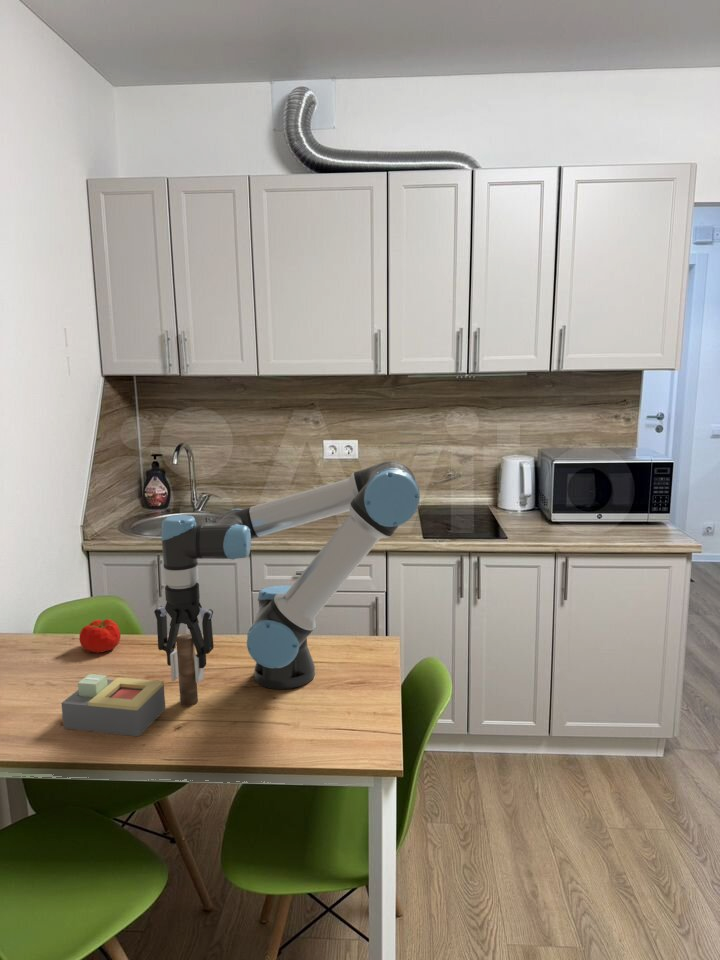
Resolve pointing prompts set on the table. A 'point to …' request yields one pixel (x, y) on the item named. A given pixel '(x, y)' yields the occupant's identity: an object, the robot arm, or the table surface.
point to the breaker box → (116, 708)
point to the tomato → (100, 636)
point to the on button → (92, 685)
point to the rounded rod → (186, 670)
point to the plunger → (126, 694)
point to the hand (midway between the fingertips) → (187, 678)
